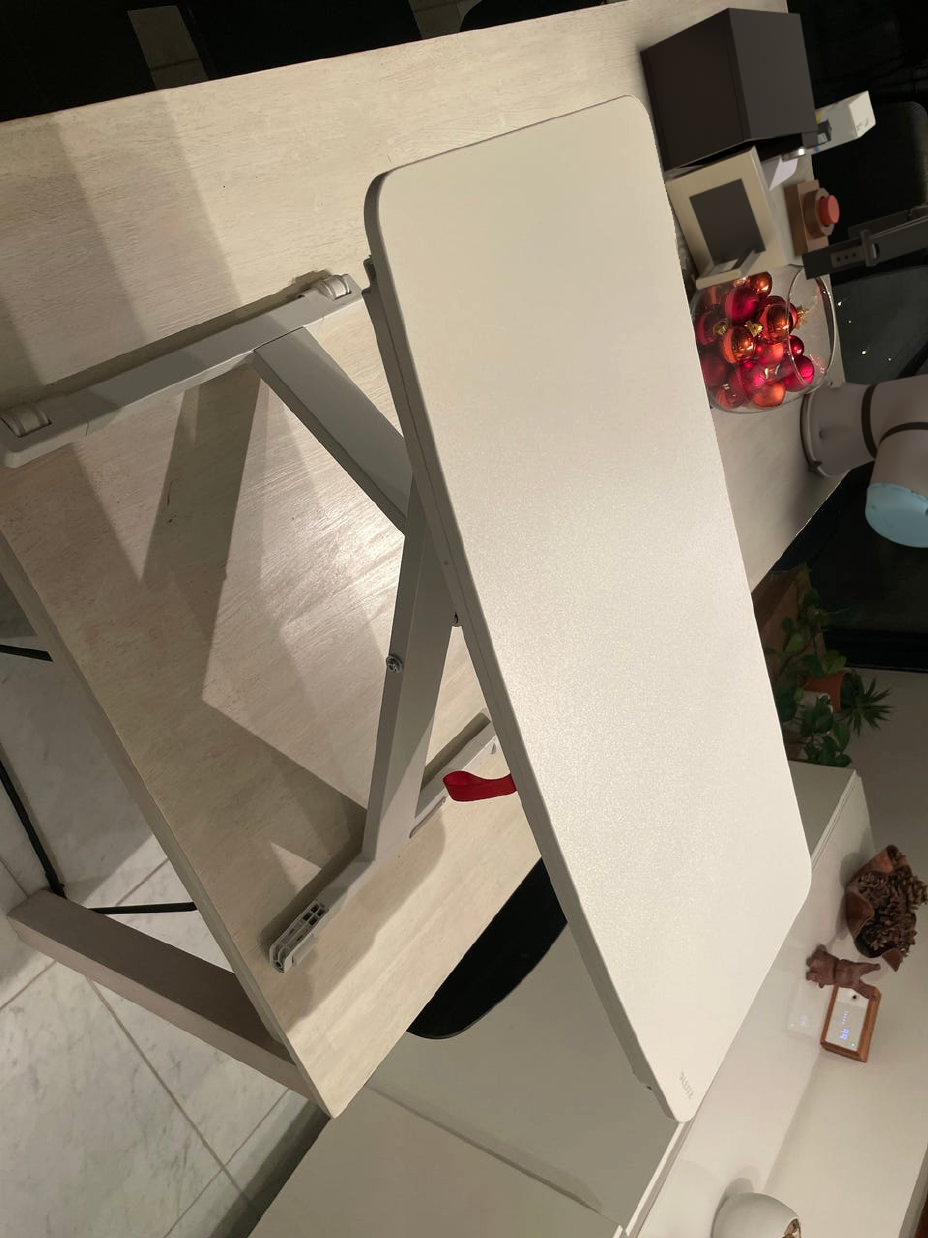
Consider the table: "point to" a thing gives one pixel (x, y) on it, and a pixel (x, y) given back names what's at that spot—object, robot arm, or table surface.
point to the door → (729, 219)
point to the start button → (828, 210)
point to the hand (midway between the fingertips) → (828, 252)
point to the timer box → (806, 216)
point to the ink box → (842, 122)
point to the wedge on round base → (778, 171)
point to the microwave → (731, 89)
